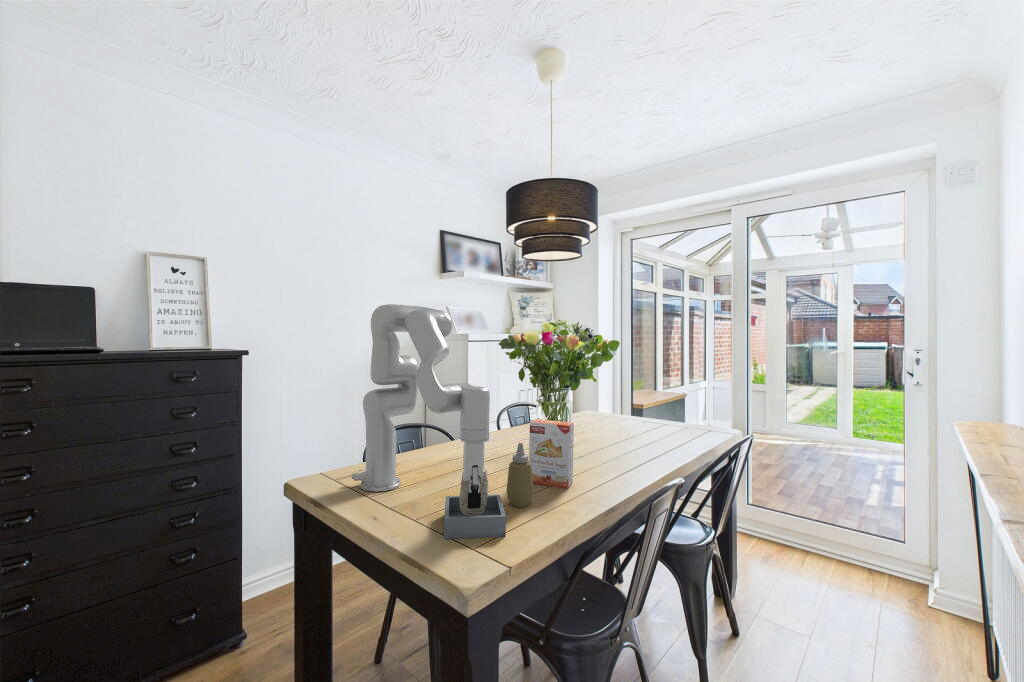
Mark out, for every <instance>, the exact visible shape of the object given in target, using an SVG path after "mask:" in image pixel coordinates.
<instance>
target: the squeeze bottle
mask: <svg viewBox="0 0 1024 682" xmlns="http://www.w3.org/2000/svg"><path fill="white" fill-rule="evenodd" d="M517 443H518V444H517V448H516V453H515V454H512V461H511V462H510V463H509V464H508V466H509V467H508V473H507V482H506V496H507V499H508V502H509V503H508V504H509V505H510V506H512V507H516V508H526V507H528V506H530V505H531V501H532V499H533V495H534V483H533V481H532V469H531V464H530V463H529V454H526V453H525V450H524V444H523V442H517Z"/></svg>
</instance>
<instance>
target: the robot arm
mask: <svg viewBox="0 0 1024 682" xmlns="http://www.w3.org/2000/svg"><path fill="white" fill-rule="evenodd" d="M452 330H453V322H452V318H451V316H450V315H449V314H448V312H446V311H444V310H441V309H440V310H439V309H435V308H430V307H426V306H418V305H408V304H407V305H406V304H383V305H382V304H381V305H379V306H377V307H376V308H375V309H374V311H373V312H372V314H371V317H370V331H371V338H372V347H371V359H370V379H371V382H372V383H373V384H375V385H378V386H391V385H392V386H393V385H397V387H383V388H377V389H376V388H375V389H372V390H370V391H368V392H366V394H365V395H364V397H363V399H362V408H363V413H364V419H365V421H364V422H365V471H362V472H353V473H352V472H351V473H352V474H351V480H353V481H354V482H358V481H361V482H360V489H361V490H363V491H366V492H386V491H391V490H394V489H397V488H398V487H399V486H400V485H401V481H402V480H401V479H400V478H399V477H397V473H396V472H397V430H396V427H395V425H394V423H393V422H392V420H391V418H392V417H398V416H405V415H408V414H411V413H413V411H414V409H415V408H416V405H417V399H418V398H417V396H418V390H419V393H420V395H421V398H422V400H423V402H424V404H425V405H426V407H427V409H428V410H429V411H431V412H432V413H434V414H437V415H439V414H440V415H442V414H448V413H454V412H460V420H459V421H460V422H459V423H460V429H459V431H460V433H459V438H460V442H462V443H463V452H462V453H463V454H462V455H463V456H462V457H463V460H462V461H463V462H462V466H463V467H462V474H463V479H464V481H465V482H466V481H469V492H468V508H469V509H471V508H480V507H481V492H480V481H482V480H483V470H484V468H485V465H484V464H485V443H487V442H489V441H490V407H491V406H490V398H491V397H490V396H491V395H490V390H489V388H487V387H486V386H485V387H484V386H481V385H479V386H476V385H472V384H470V383H466V382H460V383H459V382H458V383H446V384H440V383H439V381H438V378H437V377H436V374H435V371H434V367H435V366H437V365H438V364H441V363H442V362H443V361H444V360H445V359H446V358H448V356H449V354H450V349H449V346H448V344H447V342H446V340H445V337H449V335H450V334H451V332H452ZM397 332H399V333H408V335H409V337H410V340H411V341H412V344H413V346H414V348H415V351H416V352H417V354H418V356H419V358H420V363H419V365H418V363H417V360H416V359H415V358H414V357H413V356H411V355H404V354H403V355H400V347H401V342H400V339H399V338H398V335H397V334H396V333H397ZM472 468H473V471H472ZM478 474H479V477H478ZM471 478H473V480H471ZM471 483H473V485H471Z"/></svg>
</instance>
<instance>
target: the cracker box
mask: <svg viewBox="0 0 1024 682" xmlns="http://www.w3.org/2000/svg"><path fill="white" fill-rule="evenodd" d="M574 425H575V423H574V422H570V421H560V420H559V421H558V420H550V419H549V420H548V419H537V418H535V419H532V421H530V422H529V440H528V441H529V443H528V444H529V446H528V447H529V449H528V452H529V454H528V462H529V463H530V464H531V469H532V481H533V484H538V485H543V486H551V487H555V488H562V489H570V487H571V486H572V484H573V481H574V479H573V478H574V477H573V475H574V435H575V434H574V432H575V431H574V429H575V427H574Z"/></svg>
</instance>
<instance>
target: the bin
mask: <svg viewBox="0 0 1024 682" xmlns="http://www.w3.org/2000/svg"><path fill="white" fill-rule="evenodd" d="M459 496H460V495H451V496H450V495H449V496H445V504H444V517H443V518H444V519H443V520H444V523H443V529H444V530H443V540H455V539H456V540H457V539H463V540H464V539H478V538H479V539H482V538H483V539H484V538H503V537H505V538H506V535H507V531H506V529H507V527H506V525H507V523H506V522H507V516H506V512H505V508H504V504H503V501H502V496H501V495H500V494H488V496H487V504H486V507H485V511H484V513H483V515H482V516H466V515H464V514H463V513H462V512H461V509H460V499H459Z"/></svg>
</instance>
